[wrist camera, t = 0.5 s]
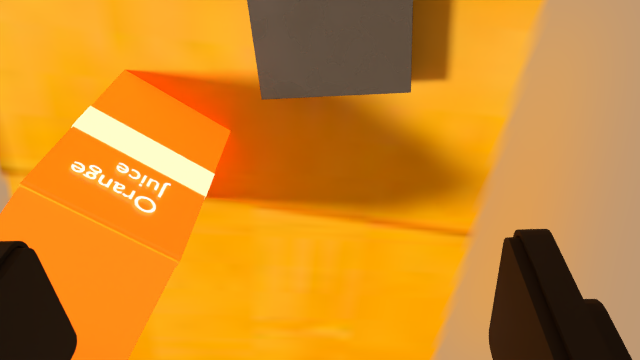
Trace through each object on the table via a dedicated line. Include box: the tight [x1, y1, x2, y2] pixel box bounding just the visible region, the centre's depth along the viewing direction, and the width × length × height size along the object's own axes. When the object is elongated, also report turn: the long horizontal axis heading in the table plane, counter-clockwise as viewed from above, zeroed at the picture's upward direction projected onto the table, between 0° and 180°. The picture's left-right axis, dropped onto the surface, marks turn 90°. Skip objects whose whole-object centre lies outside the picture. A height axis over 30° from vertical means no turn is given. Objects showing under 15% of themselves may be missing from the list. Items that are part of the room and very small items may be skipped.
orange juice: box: [0, 70, 231, 360], centre depth 33 cm, size 8×9×20 cm
